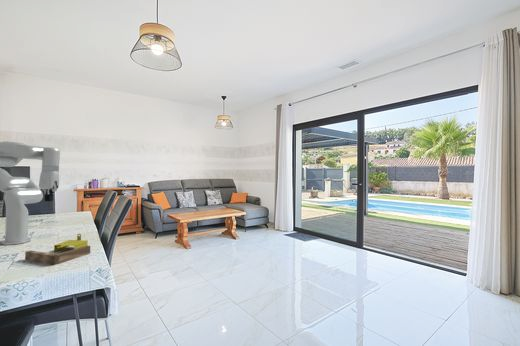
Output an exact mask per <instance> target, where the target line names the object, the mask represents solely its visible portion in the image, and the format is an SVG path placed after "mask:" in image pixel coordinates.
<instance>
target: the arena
mask: <svg viewBox="0 0 520 346" xmlns="http://www.w3.org/2000/svg"><path fill="white" fill-rule="evenodd" d="M24 253H25V254H24V255H25V256H24V260H25V261H29V262H34V263H41V264H45V265H46V264H47V265H51V266H52V265H53V266H56V265H58V264H61V263H66V262H68V261H71V260H75V259H77V258H81V257H84V256H87V255H90V254H91V245H88V246H84V247H80V248H77V249H74V248H73V249H70V250H66V251H63V252H60V253H50V252H43V251H35V250H26V251H25V252H24Z"/></svg>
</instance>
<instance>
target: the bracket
mask: <svg viewBox="0 0 520 346" xmlns="http://www.w3.org/2000/svg"><path fill="white" fill-rule="evenodd" d="M76 236H77V237H76V239H72V240H71V239H69V240H65V241H62V242H59V243H57V244H54V246H53V251H54V253H56V252H58V251H60V250H63V249H66V248H69V247H70V246H71V247H72V246H73V249H77V248H80V247H84V246H89V245H88V242H89V241H88V240H85V239H82V234H81V233H77V235H76Z"/></svg>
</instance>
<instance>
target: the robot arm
mask: <svg viewBox="0 0 520 346" xmlns="http://www.w3.org/2000/svg"><path fill="white" fill-rule="evenodd" d="M60 156H61V150H60V149H59V147H57V148H56V147H49V146H47V147H44V146H36V145H29V144H28V145H27V144H25V143H23V142H15V141H9V140H8V141H0V192H2V193H4V196H3V201H4V203H5V204H4V205H5V231H4V234H5V235H3V236H2V238H4V239H3V240H2V241H0V243H1V245H3V246H9V245H11V246H13V245H20V244H25V243H29V242H30V241H32V238H31V237H29V235H28V234H29V232H28V231H29V210H28V208H27V207H26V205H28V204H37V203H39V202H41V201H42V200H43V198H44V202H53V200H54V194H55V192H57V191H58V189H59V187H60V173H59V172H60V160H61V159H60V158H61V157H60ZM24 159H26V160H40V161H41V172H40V174H39V175H40V176H39V180H38V181H39V182H38V185H37V184H36V183H35V182H34V181H33V180H32V179H30V177H25V176H12V175H11V174H10V173H9V172H8V171H7V170H5V169H4V168H12V167H16V165H18V164H19V163H20V162H21V161H22V160H24ZM2 167H3V168H2ZM43 193H44V194H43Z"/></svg>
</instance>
